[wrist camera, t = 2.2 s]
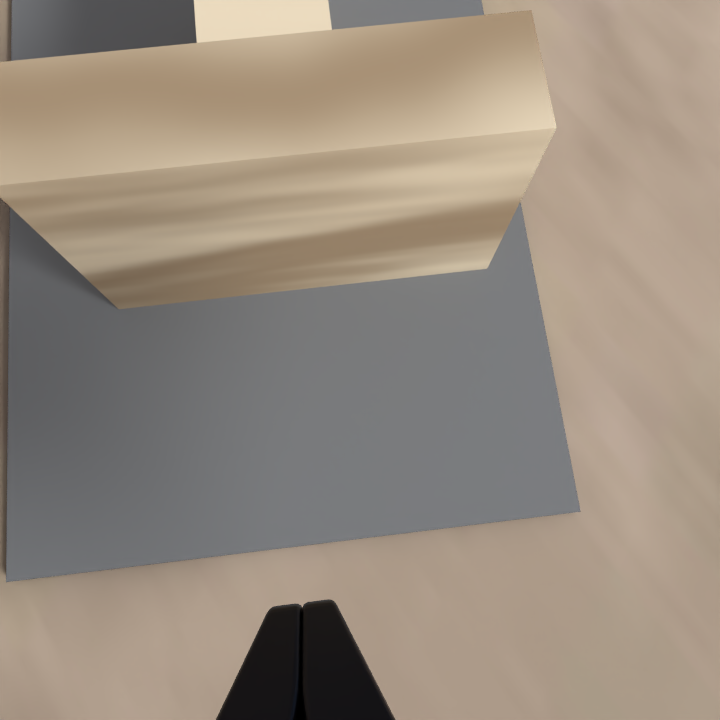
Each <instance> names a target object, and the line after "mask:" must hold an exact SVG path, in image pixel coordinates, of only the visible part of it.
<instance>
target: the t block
mask: <svg viewBox="0 0 720 720" xmlns="http://www.w3.org/2000/svg"><path fill="white" fill-rule="evenodd" d="M194 10H195V24H196V39H197V43H190V44H180V45H170V46H159V47H149V48H139V49H128V50H118V51H108V52H98V53H87V54H77V55H67V56H57V57H46V58H36V59H26V60H15V61H5V62H0V198H1V199H2V200H3V201H4V202H5V203H7V204H8V205H9V206H10V207H11V208H12V209H13V210H14V211H15V212H16V213H17V214H18V215H19V216H20V217H21V218H22V219H24V220H25V221H26V222H27V223H28V224H29V225H30V226H31V227H32V228H33V229H34V230H35V231H36V232H37V233H38V234H39V235H40V236H42V237H43V238H44V239H45V240H46V241H47V242H48V243H49V244H50V245H51V246H52V247H53V248H54V249H55V250H56V251H57V252H58V253H60V254H61V255H62V256H63V257H64V258H65V259H66V260H67V261H68V262H69V263H70V264H71V265H72V266H73V267H74V268H75V269H77V270H78V271H79V272H80V273H81V274H82V275H83V276H84V277H85V278H86V279H87V280H88V281H89V282H90V283H91V284H92V285H93V286H95V287H96V288H97V289H98V290H99V291H100V292H101V293H102V294H103V295H104V296H105V297H106V298H107V299H108V300H109V301H110V302H112V303H113V304H114V305H115V306H116V307H117V308H118V309H126V308H135V307H144V306H153V305H162V304H171V303H180V302H189V301H198V300H207V299H217V298H226V297H235V296H244V295H253V294H262V293H271V292H280V291H289V290H298V289H308V288H317V287H326V286H335V285H344V284H353V283H362V282H371V281H380V280H389V279H398V278H408V277H417V276H426V275H435V274H444V273H453V272H462V271H471V270H480V269H487V268H488V266H489V264H490V262H491V260H492V258H493V256H494V254H495V252H496V250H497V248H498V246H499V244H500V242H501V240H502V238H503V236H504V234H505V232H506V230H507V227H508V225H509V223H510V221H511V219H512V217H513V215H514V213H515V211H516V209H517V207H518V205H519V203H520V201H521V199H522V197H523V195H524V193H525V191H526V189H527V187H528V185H529V183H530V181H531V179H532V177H533V175H534V173H535V171H536V169H537V166H538V164H539V162H540V160H541V158H542V156H543V154H544V152H545V150H546V148H547V146H548V144H549V142H550V140H551V138H552V136H553V134H554V132H555V130H556V123H555V118H554V114H553V109H552V104H551V100H550V95H549V90H548V86H547V81H546V76H545V72H544V67H543V62H542V58H541V53H540V48H539V44H538V39H537V34H536V30H535V25H534V20H533V16H532V11H531V10H529V11H519V12H509V13H498V14H488V15H478V16H468V17H457V18H447V19H437V20H426V21H416V22H406V23H396V24H385V25H375V26H365V27H355V28H344V29H334V30H332V26H331V18H330V11H329V3H328V0H194Z"/></svg>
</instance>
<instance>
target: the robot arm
mask: <svg viewBox="0 0 720 720" xmlns="http://www.w3.org/2000/svg"><path fill="white" fill-rule="evenodd" d="M216 720H395V718H394V716H393V714H392V712H391V710H390V708H389V706H388V704H387V702H386V700H385V698H384V697H383V695H382V693H381V691H380V689H379V687H378V685H377V683H376V681H375V679H374V677H373V675H372V673H371V671H370V669H369V667H368V665H367V663H366V661H365V659H364V657H363V655H362V654H361V652H360V650H359V648H358V646H357V644H356V642H355V640H354V638H353V636H352V634H351V632H350V630H349V628H348V626H347V624H346V622H345V620H344V618H343V616H342V614H341V612H340V611H339V609H338V607H337V605H336V603H335V602H334V601H333V600H321V601H313V602H307V603H305V604H304V606H303V608H302V606H301V605H299V604H289V605H281V606H275V607H272V608H271V609H270V610H269V611H268V612H267V614H266V616H265V618H264V620H263V622H262V625H261V627H260V629H259V631H258V633H257V635H256V637H255V639H254V641H253V643H252V645H251V647H250V650H249V652H248V654H247V656H246V658H245V660H244V662H243V664H242V666H241V668H240V670H239V673H238V675H237V677H236V679H235V681H234V683H233V685H232V687H231V689H230V691H229V693H228V695H227V698H226V700H225V702H224V704H223V706H222V708H221V710H220V712H219V714H218V716H217V718H216Z"/></svg>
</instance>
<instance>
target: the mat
mask: <svg viewBox="0 0 720 720" xmlns="http://www.w3.org/2000/svg"><path fill="white" fill-rule="evenodd" d="M328 3H329V11H330V18H331V26H332V30H334V29H344V28H355V27H365V26H375V25H385V24H396V23H406V22H416V21H426V20H437V19H447V18H457V17H468V16H478V15H484V12H483V7H482V2H481V0H328ZM190 43H197V39H196V24H195V10H194V0H12V33H11V61H15V60H26V59H36V58H46V57H57V56H67V55H77V54H87V53H98V52H108V51H118V50H128V49H139V48H149V47H159V46H170V45H180V44H190ZM573 512H580V506H579V501H578V496H577V491H576V486H575V481H574V476H573V470H572V465H571V460H570V455H569V450H568V445H567V440H566V434H565V429H564V424H563V419H562V414H561V409H560V403H559V398H558V393H557V388H556V383H555V378H554V373H553V367H552V362H551V357H550V352H549V347H548V342H547V336H546V331H545V326H544V321H543V316H542V311H541V306H540V300H539V295H538V290H537V285H536V280H535V275H534V270H533V264H532V259H531V254H530V249H529V244H528V239H527V233H526V228H525V223H524V218H523V213H522V208H521V203H519V205H518V207H517V209H516V211H515V213H514V215H513V217H512V219H511V221H510V223H509V225H508V227H507V230H506V232H505V234H504V236H503V238H502V240H501V242H500V244H499V246H498V248H497V250H496V252H495V254H494V256H493V258H492V260H491V262H490V264H489V266H488V268H487V269H480V270H471V271H462V272H453V273H444V274H435V275H426V276H417V277H408V278H398V279H389V280H380V281H371V282H362V283H353V284H344V285H335V286H326V287H317V288H308V289H298V290H289V291H280V292H271V293H262V294H253V295H244V296H235V297H226V298H217V299H207V300H198V301H189V302H180V303H171V304H162V305H153V306H144V307H135V308H126V309H118V308H117V307H116V306H115V305H114V304H113V303H112V302H110V301H109V300H108V299H107V298H106V297H105V296H104V295H103V294H102V293H101V292H100V291H99V290H98V289H97V288H96V287H95V286H93V285H92V284H91V283H90V282H89V281H88V280H87V279H86V278H85V277H84V276H83V275H82V274H81V273H80V272H79V271H78V270H77V269H75V268H74V267H73V266H72V265H71V264H70V263H69V262H68V261H67V260H66V259H65V258H64V257H63V256H62V255H61V254H60V253H58V252H57V251H56V250H55V249H54V248H53V247H52V246H51V245H50V244H49V243H48V242H47V241H46V240H45V239H44V238H43V237H42V236H40V235H39V234H38V233H37V232H36V231H35V230H34V229H33V228H32V227H31V226H30V225H29V224H28V223H27V222H26V221H25V220H24V219H22V218H21V217H20V216H19V215H18V214H17V213H16V212H15V211H14V210H13V209H12V208H11V207H10V240H9V344H8V447H7V551H6V582H10V581H18V580H27V579H35V578H43V577H51V576H59V575H67V574H76V573H84V572H92V571H100V570H108V569H116V568H124V567H133V566H141V565H149V564H157V563H165V562H173V561H182V560H190V559H198V558H206V557H214V556H222V555H230V554H239V553H247V552H255V551H263V550H271V549H279V548H288V547H296V546H304V545H312V544H320V543H328V542H337V541H345V540H353V539H361V538H369V537H377V536H385V535H394V534H402V533H410V532H418V531H426V530H434V529H443V528H451V527H459V526H467V525H475V524H483V523H492V522H500V521H508V520H516V519H524V518H532V517H540V516H549V515H557V514H565V513H573Z"/></svg>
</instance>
